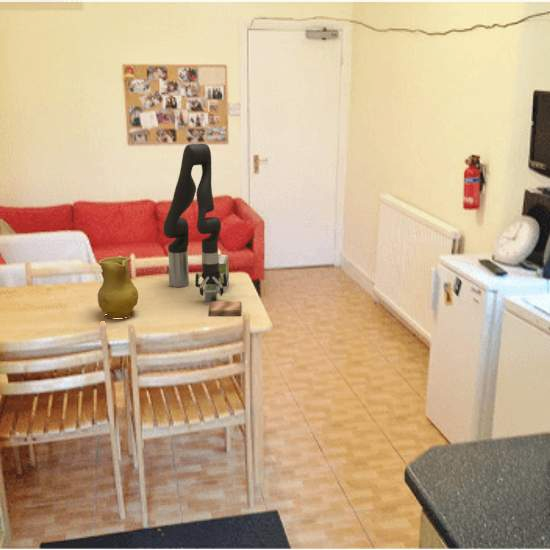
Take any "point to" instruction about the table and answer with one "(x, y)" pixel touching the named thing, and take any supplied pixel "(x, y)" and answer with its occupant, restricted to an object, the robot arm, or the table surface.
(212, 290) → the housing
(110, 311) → the pitcher
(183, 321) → the table surface
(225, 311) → the stand
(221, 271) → the tea box
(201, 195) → the robot arm
